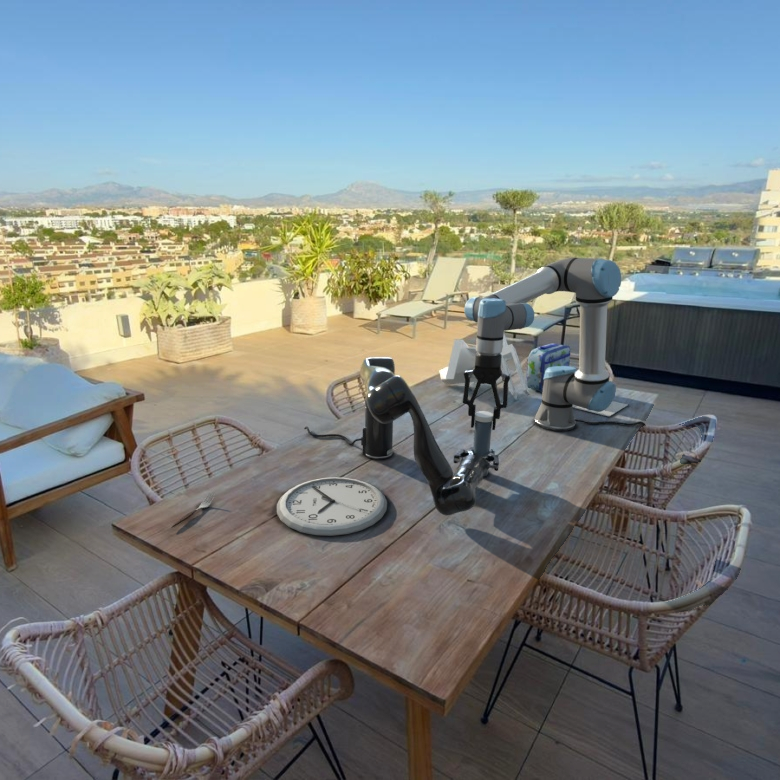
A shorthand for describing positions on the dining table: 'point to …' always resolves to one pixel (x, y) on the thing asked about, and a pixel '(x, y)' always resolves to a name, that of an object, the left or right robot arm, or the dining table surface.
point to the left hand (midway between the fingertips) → (482, 450)
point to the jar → (482, 439)
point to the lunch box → (545, 363)
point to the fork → (203, 505)
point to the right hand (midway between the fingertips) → (483, 427)
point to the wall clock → (331, 506)
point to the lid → (483, 416)
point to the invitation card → (607, 409)
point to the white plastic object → (465, 360)
